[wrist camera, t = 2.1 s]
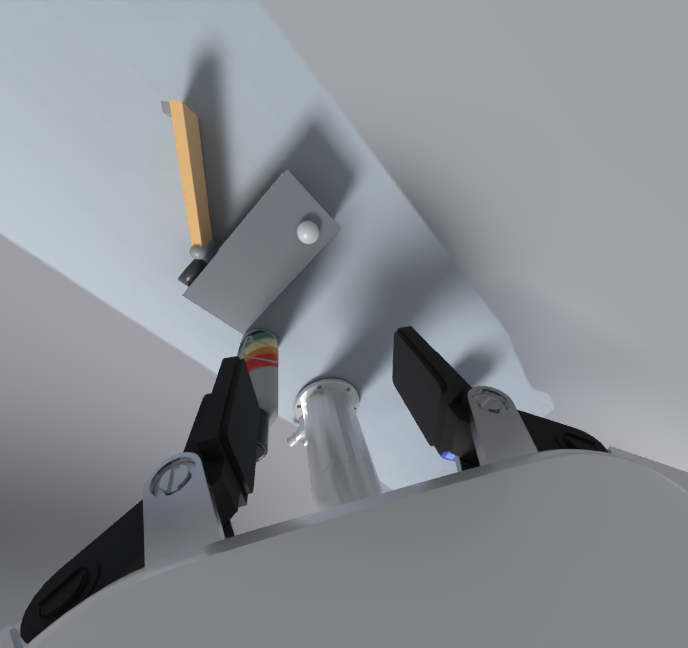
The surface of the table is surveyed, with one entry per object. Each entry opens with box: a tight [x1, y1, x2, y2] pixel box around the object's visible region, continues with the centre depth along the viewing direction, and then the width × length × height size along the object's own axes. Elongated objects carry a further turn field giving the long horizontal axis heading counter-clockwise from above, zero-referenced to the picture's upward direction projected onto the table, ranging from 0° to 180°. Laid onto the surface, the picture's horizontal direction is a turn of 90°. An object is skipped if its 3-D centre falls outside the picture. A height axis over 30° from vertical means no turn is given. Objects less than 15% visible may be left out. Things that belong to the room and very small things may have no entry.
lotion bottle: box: [237, 329, 278, 462], centre depth 32 cm, size 6×6×20 cm
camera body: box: [178, 169, 341, 334], centre depth 31 cm, size 18×9×7 cm, turn 132°
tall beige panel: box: [161, 100, 215, 259], centre depth 27 cm, size 14×2×5 cm, turn 172°
